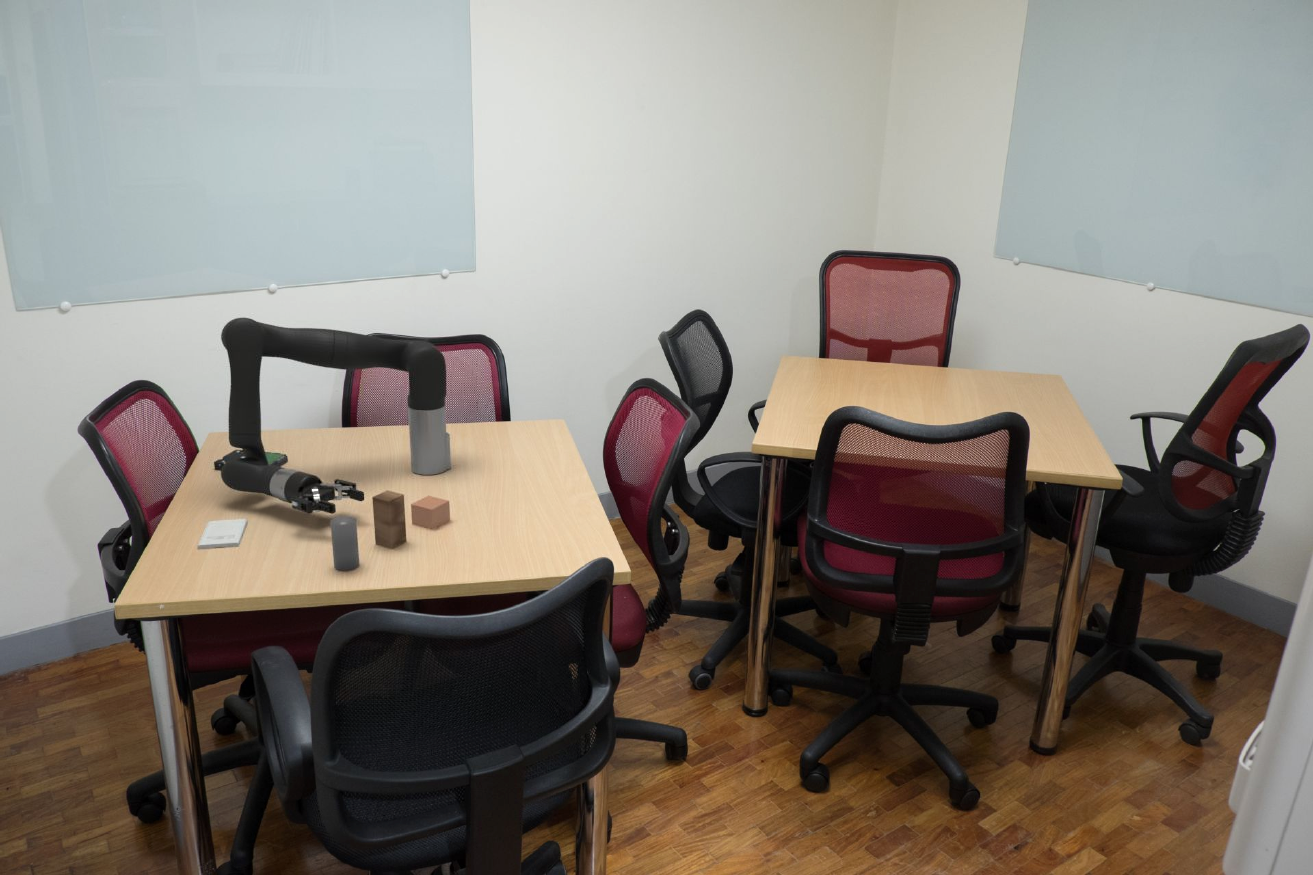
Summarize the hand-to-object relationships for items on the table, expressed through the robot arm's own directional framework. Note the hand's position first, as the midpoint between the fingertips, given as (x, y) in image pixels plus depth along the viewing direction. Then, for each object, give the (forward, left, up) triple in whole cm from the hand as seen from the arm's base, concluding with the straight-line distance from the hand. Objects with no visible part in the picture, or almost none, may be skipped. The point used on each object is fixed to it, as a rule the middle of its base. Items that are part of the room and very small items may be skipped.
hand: (349, 502), depth 220 cm
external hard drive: (+23, -14, -8) cm, 28 cm away
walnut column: (-5, +10, -7) cm, 13 cm away
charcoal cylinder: (+7, +15, -7) cm, 18 cm away
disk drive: (+4, -54, -8) cm, 54 cm away
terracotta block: (-17, +5, -7) cm, 19 cm away
